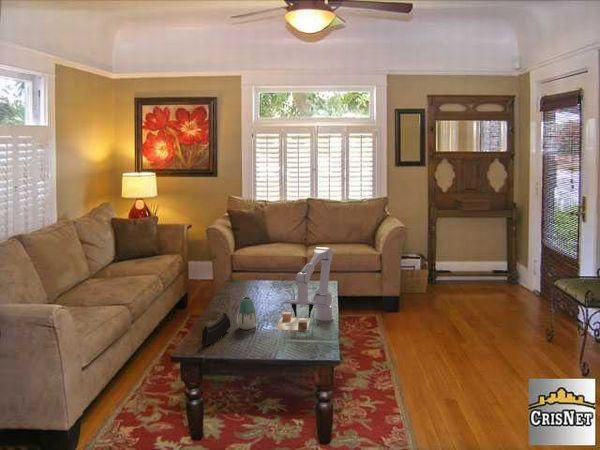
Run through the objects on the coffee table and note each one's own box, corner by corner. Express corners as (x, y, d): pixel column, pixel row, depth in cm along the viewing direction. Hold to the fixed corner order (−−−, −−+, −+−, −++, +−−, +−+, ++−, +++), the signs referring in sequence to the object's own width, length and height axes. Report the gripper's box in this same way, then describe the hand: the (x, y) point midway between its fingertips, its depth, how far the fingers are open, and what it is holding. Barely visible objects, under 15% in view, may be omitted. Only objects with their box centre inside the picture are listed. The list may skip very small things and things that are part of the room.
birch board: (310, 319, 366) (310, 318, 366) (307, 332, 343) (307, 330, 342) (281, 319, 368) (281, 317, 368) (275, 331, 344) (275, 329, 344)
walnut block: (307, 327, 349) (307, 320, 348) (306, 329, 344) (306, 322, 344) (299, 326, 349) (299, 320, 349) (298, 329, 345) (298, 322, 344)
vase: (254, 331, 343) (253, 300, 341) (234, 330, 346) (233, 299, 343) (259, 325, 355) (259, 295, 352) (240, 324, 357) (239, 294, 354)
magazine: (204, 332, 313) (227, 302, 339) (198, 331, 314) (221, 301, 340) (209, 359, 320) (231, 328, 346) (203, 359, 321) (226, 327, 347)
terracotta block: (291, 318, 366) (291, 312, 365) (290, 320, 361) (290, 314, 361) (283, 318, 366) (283, 311, 366) (282, 320, 362) (282, 313, 361)
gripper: (289, 294, 341) (289, 318, 343) (314, 295, 339) (314, 319, 341) (290, 291, 348) (290, 315, 350) (315, 292, 346) (315, 315, 348)
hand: (302, 317), depth 346 cm, fingers open, 7 cm apart
